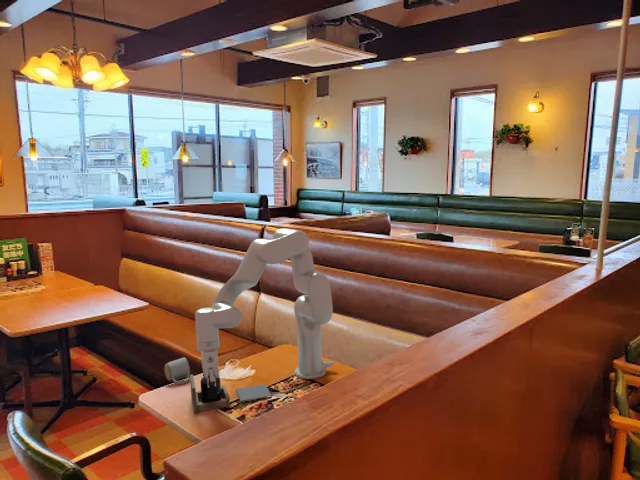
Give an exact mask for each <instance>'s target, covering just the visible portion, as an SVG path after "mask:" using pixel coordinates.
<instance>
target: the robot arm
mask: <svg viewBox="0 0 640 480" xmlns="http://www.w3.org/2000/svg"><path fill="white" fill-rule="evenodd" d="M272 237H273V239H268V238H267V239H266V238H256V239H254V240H253V241H251V243H250V245H249V246H248V249H246V250H247V251H246V253H245V255H244V256H243V258H242V260H241V263H240V265H239V266H238V267H237V270H236V271H235V273H234V275H232V276H231V278H229V279H228V280H227V281H226V282H225V284H224V285H222V287H221V288H220V290H219V291H218V293H217V295H216V297H215V298H214V299H213V300H214V301H213V302H212V304H211V307H202V308H199V309H197V310H196V311H195V314H194V319H195V322H194V323H195V333H196V349H197V351H198V352H200V355H201V356H200V357H201V367H202V374H203V373H204V377H205V379H206V380H207V385H208V387H207V397H208V399H209V398H215V397H217V386H216V380H215V376H216V378H219V377H220V368H219V358H218V350H219V348H220V335H219V334H220V332H219V329H232V328H235V327H237V326H239V324H241V322H242V319H243V313H242V311H241V310H240V309H239V308H238V307H236V306H234V304H235V302H236V300H237V299H238V297H239V296H240V295H241V294H242V293H244V292H245V291H246V290H249V289H251V288H252V287H255V286H257V284H258V282H259V281H260V278H261V276H262V275H263V273H264V271H265V269H266V267H267V265H276V264H279V263H282V262H285V261H287V260H290V263H291V264H290V265H291V272H292V278H293V279H292V280H293V285H294V288H295V290H296V291H297V292H299V293H301V294H303V295H300V296H298V298H297V299H296V301H295V302H294V305H293V311H294V316H295V321H296V335H297V341H296V342H297V362H298V363H297V367H296V368H295V370H294V375H295V376H296V377H297V378H300V379H304V380H305V379H306V380H313V379H315V380H316V379H319V378H323V376H325V375H326V374H327V367H329V368H330V367H334V366H335V362H334V361H329V360H323V354H322V352H323V349H322V327H321V326H325V325H326V324H328V323H329V322H331V319H332V317H333V313H334V308H333V307H334V306H333V297H332V291H331V283H330V281H329V278H328V277H327V276H326V275H325V274H324V273H322V272H320V271H316V269H315V263H314V257H313V253H312V251H311V248H310V247H309V244H310V239H309V236H308V235H307V233H305V232H304V231H303V230H299V229H293V228H288V227H282V228H278V229H277V230H275V231H274V232H273V236H272ZM208 376H210V378H208ZM209 380H210V382H209Z"/></svg>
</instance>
